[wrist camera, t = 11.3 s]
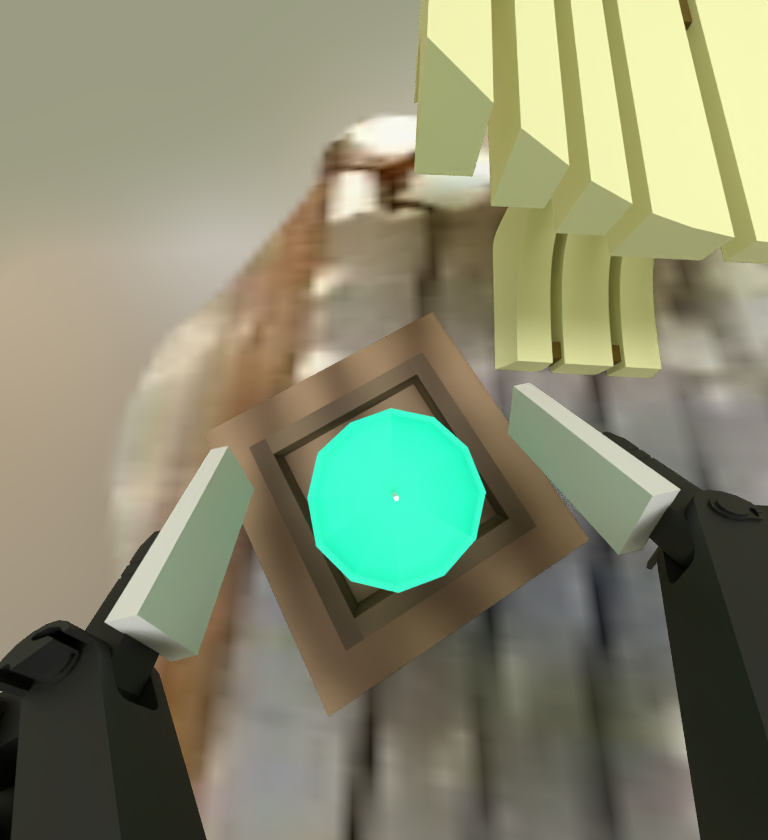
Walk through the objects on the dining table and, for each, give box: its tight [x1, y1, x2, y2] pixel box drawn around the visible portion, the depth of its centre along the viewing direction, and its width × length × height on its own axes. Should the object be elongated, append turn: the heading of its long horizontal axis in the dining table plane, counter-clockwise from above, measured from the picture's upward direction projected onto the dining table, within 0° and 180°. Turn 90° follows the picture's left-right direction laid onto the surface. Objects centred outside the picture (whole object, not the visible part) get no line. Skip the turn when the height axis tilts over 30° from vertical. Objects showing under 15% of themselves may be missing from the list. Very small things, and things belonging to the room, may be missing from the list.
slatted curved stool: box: [414, 0, 768, 378], centre depth 16 cm, size 30×16×18 cm, turn 86°
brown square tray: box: [203, 312, 589, 716], centre depth 19 cm, size 20×20×4 cm
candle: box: [307, 408, 486, 593], centre depth 14 cm, size 6×6×12 cm
